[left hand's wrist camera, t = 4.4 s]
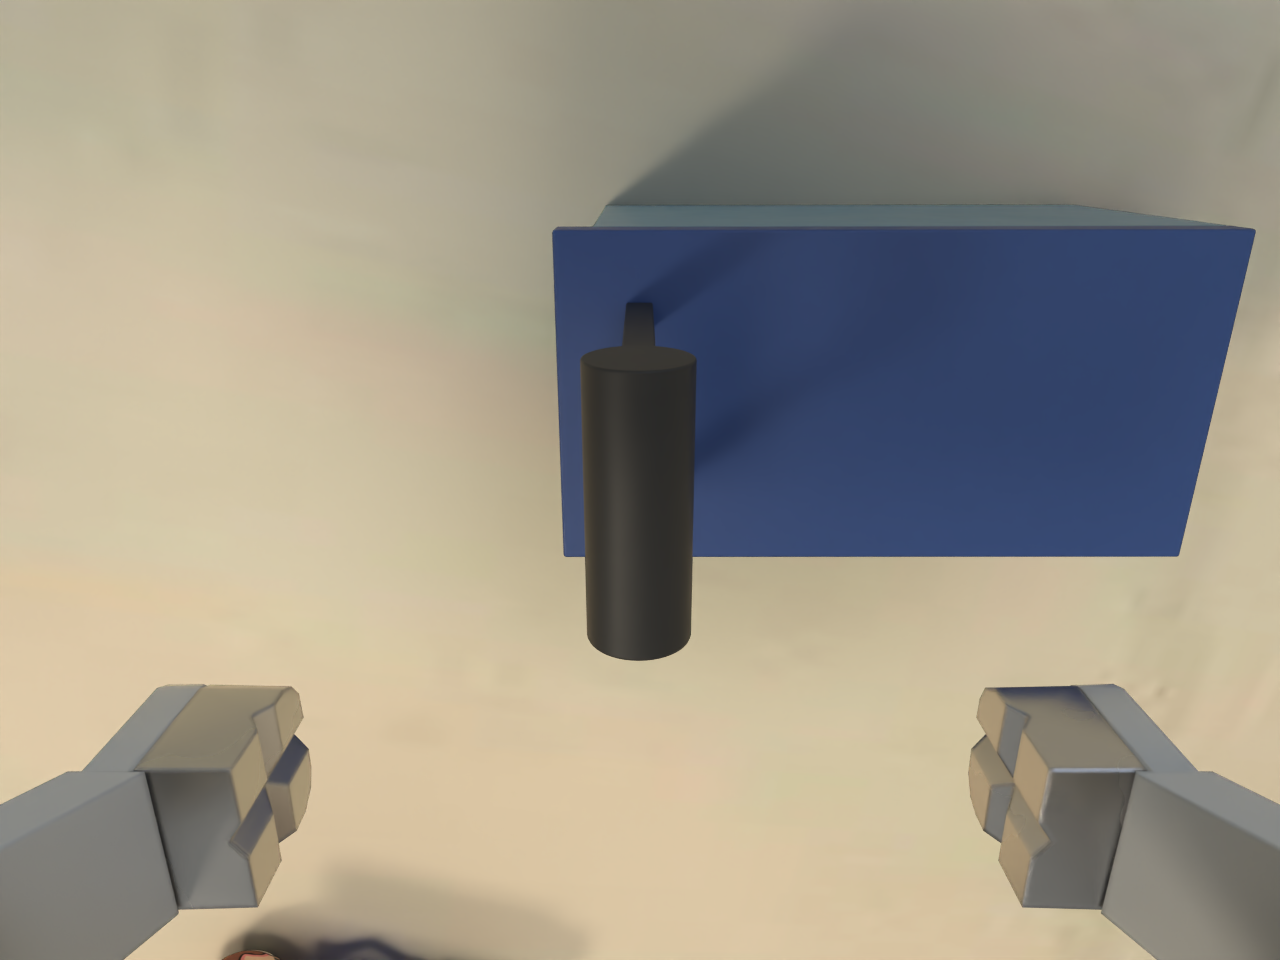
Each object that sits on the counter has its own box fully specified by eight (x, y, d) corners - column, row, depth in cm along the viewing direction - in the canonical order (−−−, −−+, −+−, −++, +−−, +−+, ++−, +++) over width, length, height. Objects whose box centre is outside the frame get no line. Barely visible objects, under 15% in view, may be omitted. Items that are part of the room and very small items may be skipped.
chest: (608, 446, 35) (598, 541, 27) (605, 205, 32) (591, 226, 24) (1033, 446, 35) (1158, 541, 27) (1073, 204, 32) (1230, 225, 24)
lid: (566, 542, 27) (530, 732, 18) (555, 226, 24) (504, 273, 15) (1159, 542, 27) (1409, 733, 18) (1231, 225, 23) (1579, 271, 15)
